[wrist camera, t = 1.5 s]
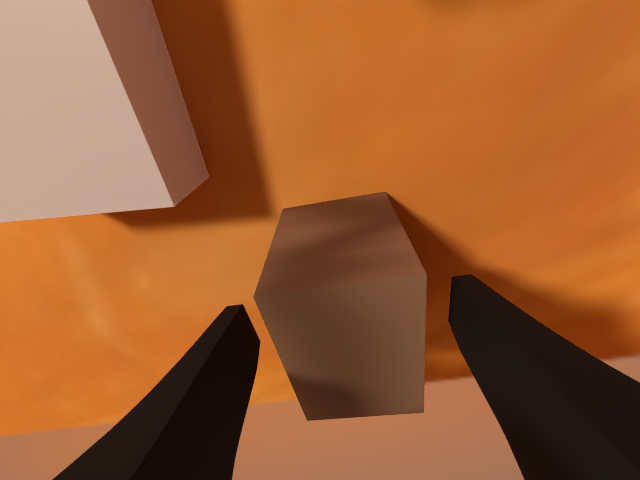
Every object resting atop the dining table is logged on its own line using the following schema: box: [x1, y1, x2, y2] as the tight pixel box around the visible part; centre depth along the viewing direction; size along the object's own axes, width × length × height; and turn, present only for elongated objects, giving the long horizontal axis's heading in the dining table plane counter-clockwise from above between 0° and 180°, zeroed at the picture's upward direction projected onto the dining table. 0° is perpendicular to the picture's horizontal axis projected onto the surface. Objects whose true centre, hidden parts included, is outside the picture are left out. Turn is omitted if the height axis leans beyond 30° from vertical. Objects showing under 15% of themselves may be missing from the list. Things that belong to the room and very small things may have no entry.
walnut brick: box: [254, 192, 427, 421], centre depth 10 cm, size 4×6×5 cm, turn 11°
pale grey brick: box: [0, 0, 209, 222], centre depth 7 cm, size 6×8×3 cm
